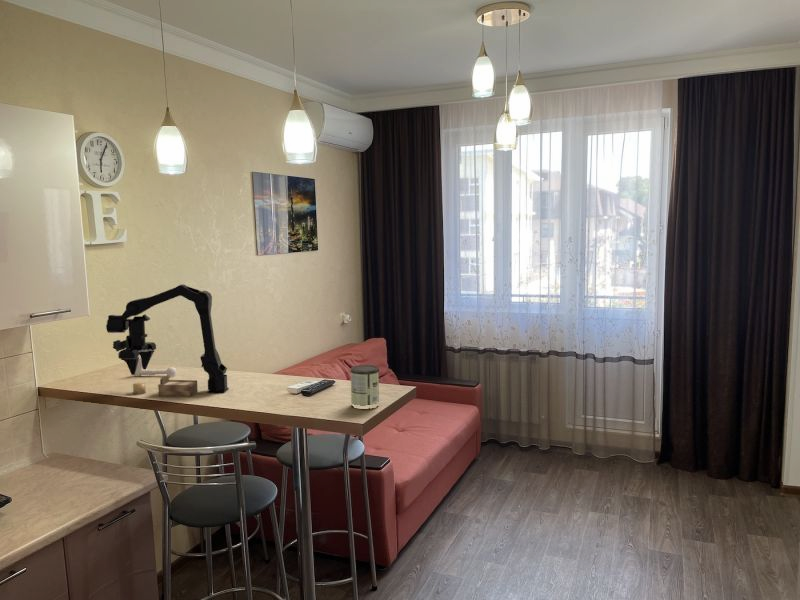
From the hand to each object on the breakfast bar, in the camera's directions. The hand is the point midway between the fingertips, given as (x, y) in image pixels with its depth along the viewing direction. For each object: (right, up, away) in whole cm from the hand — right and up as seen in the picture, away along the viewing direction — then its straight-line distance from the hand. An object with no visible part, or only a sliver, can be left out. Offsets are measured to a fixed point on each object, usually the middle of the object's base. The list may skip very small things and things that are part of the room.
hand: (138, 372), depth 234 cm
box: (+15, -8, 0) cm, 17 cm away
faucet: (-5, -6, +28) cm, 29 cm away
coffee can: (+89, -11, -15) cm, 90 cm away
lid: (+15, -5, 0) cm, 16 cm away
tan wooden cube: (0, -8, +1) cm, 8 cm away
